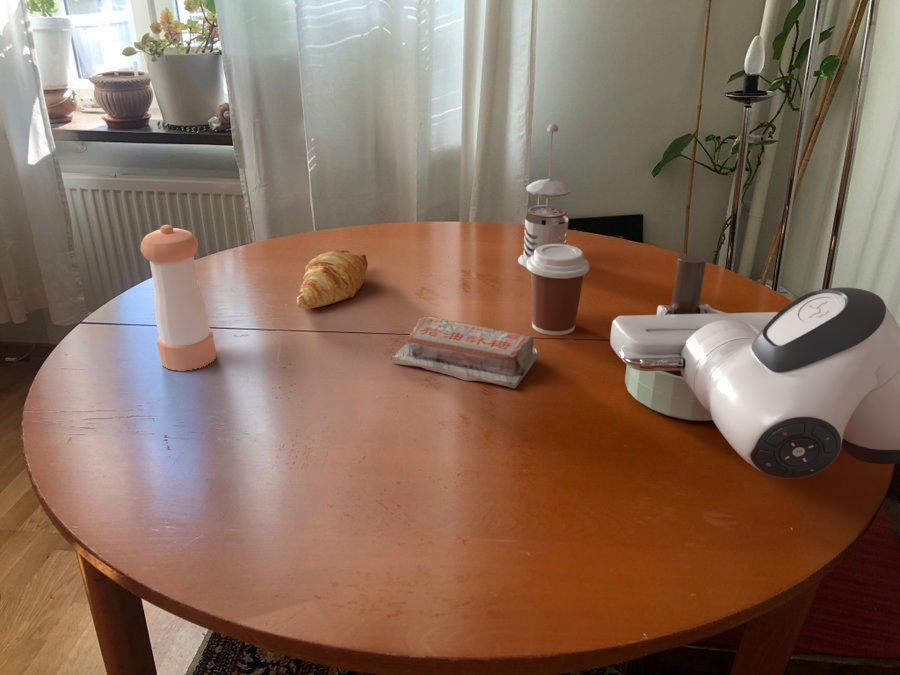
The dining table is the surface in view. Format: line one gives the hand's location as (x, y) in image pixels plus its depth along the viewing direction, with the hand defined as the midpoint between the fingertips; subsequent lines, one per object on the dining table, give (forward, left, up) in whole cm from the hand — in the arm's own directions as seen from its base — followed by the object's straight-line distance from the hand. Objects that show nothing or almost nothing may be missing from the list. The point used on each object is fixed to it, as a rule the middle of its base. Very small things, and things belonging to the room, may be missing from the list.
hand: (681, 310), depth 89 cm
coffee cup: (+7, -23, -12) cm, 26 cm away
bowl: (-2, 0, -12) cm, 12 cm away
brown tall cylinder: (0, +1, -9) cm, 9 cm away
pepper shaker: (+60, -25, -12) cm, 66 cm away
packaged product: (+23, -15, -12) cm, 30 cm away
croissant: (+38, -45, -12) cm, 60 cm away
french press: (-2, -51, -12) cm, 52 cm away
